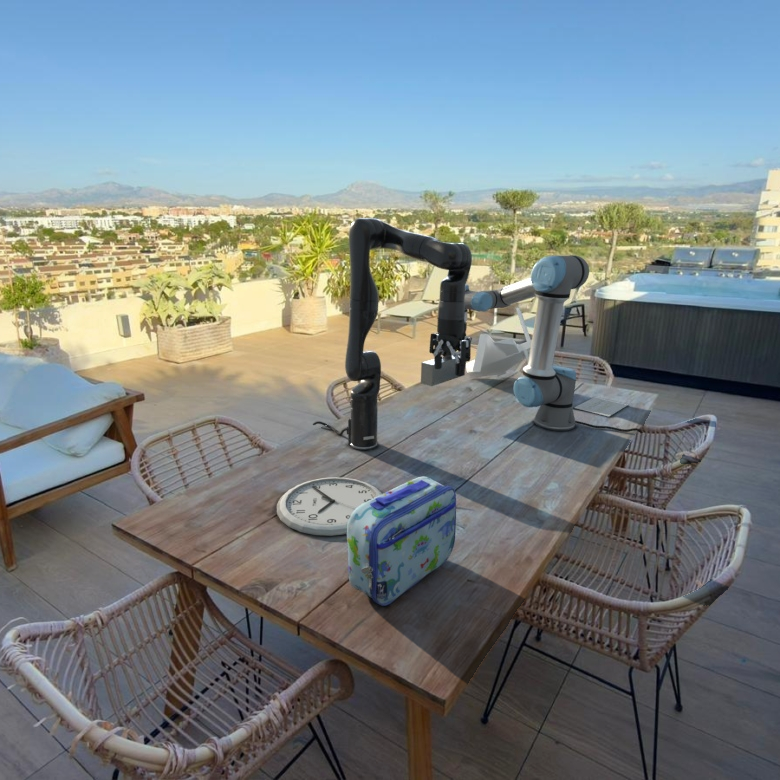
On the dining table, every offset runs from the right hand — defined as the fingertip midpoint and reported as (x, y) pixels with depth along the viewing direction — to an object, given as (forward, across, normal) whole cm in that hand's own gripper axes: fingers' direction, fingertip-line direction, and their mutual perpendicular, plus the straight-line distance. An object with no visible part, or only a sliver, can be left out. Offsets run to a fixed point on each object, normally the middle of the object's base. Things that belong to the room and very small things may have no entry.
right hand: (455, 374), depth 227 cm
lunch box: (+12, +63, -108) cm, 126 cm away
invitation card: (+12, +51, +38) cm, 65 cm away
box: (+1, 0, -8) cm, 9 cm away
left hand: (-21, +40, -62) cm, 76 cm away
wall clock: (+12, +29, -98) cm, 103 cm away
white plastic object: (+12, +3, +38) cm, 40 cm away
